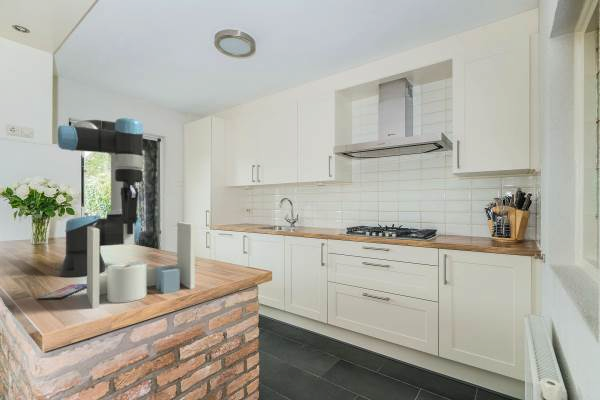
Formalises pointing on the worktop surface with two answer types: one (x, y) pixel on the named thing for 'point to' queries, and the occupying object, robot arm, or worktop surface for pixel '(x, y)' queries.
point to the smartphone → (63, 292)
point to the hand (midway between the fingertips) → (128, 244)
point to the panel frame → (184, 264)
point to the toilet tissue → (126, 281)
